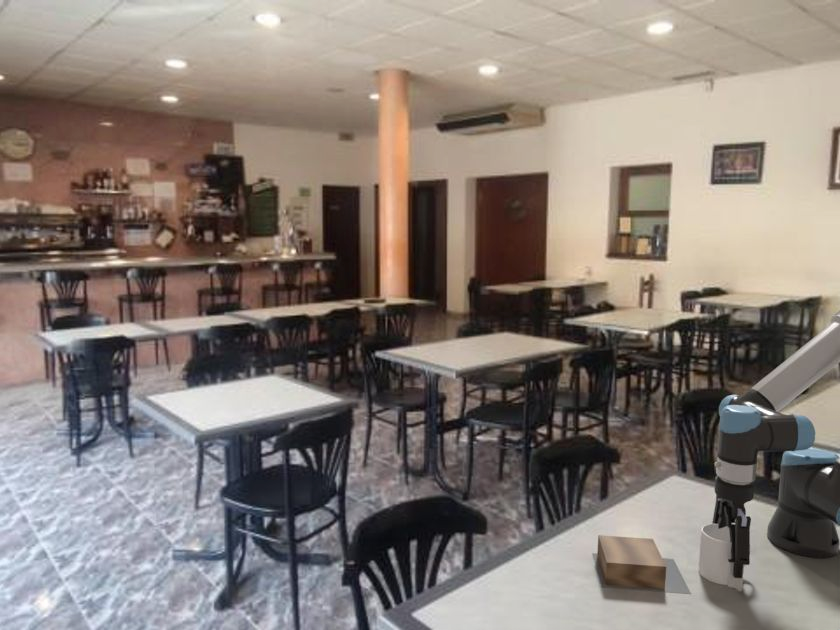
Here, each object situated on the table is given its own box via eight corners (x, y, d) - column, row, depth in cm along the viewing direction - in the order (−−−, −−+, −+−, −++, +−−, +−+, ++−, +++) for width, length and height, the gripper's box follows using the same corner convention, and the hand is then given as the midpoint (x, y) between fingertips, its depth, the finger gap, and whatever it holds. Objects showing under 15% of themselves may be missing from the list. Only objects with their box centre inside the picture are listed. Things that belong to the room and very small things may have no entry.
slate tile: (673, 563, 146) (673, 558, 145) (690, 599, 132) (691, 593, 132) (591, 558, 148) (592, 553, 148) (601, 592, 134) (601, 586, 134)
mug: (763, 584, 138) (767, 537, 136) (717, 593, 134) (721, 545, 133) (733, 564, 146) (737, 519, 144) (689, 571, 142) (692, 526, 141)
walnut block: (651, 559, 145) (652, 538, 144) (664, 589, 133) (666, 566, 133) (597, 555, 147) (598, 535, 146) (605, 584, 135) (606, 562, 134)
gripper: (701, 459, 147) (694, 551, 150) (734, 498, 126) (725, 604, 129) (735, 461, 146) (727, 554, 149) (774, 500, 125) (764, 607, 128)
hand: (726, 577), depth 139 cm, fingers closed on mug, 9 cm apart
